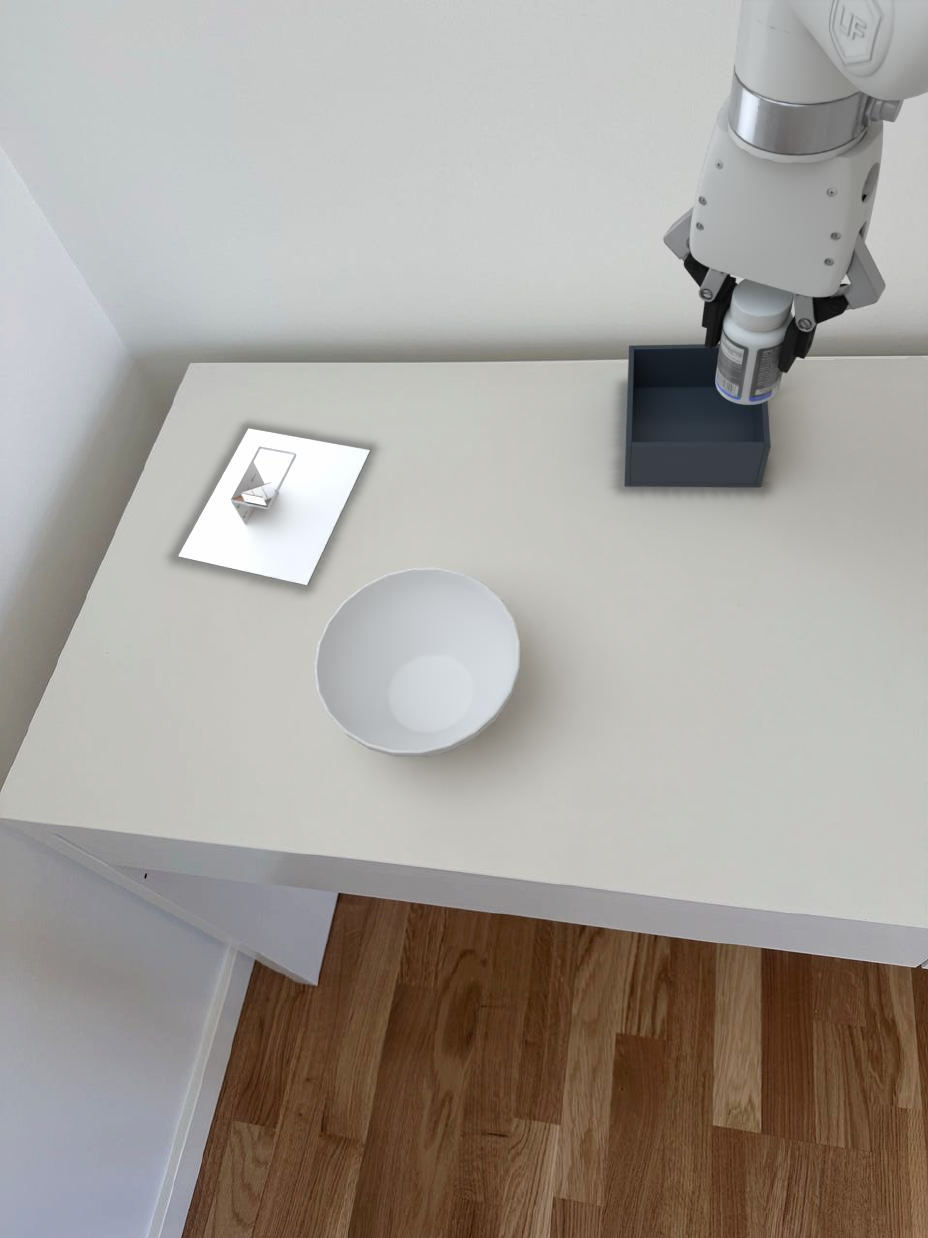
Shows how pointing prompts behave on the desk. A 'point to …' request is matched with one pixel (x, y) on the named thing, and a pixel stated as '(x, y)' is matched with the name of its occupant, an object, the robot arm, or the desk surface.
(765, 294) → the pill bottle
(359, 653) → the bowl
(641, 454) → the bin
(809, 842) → the desk surface
